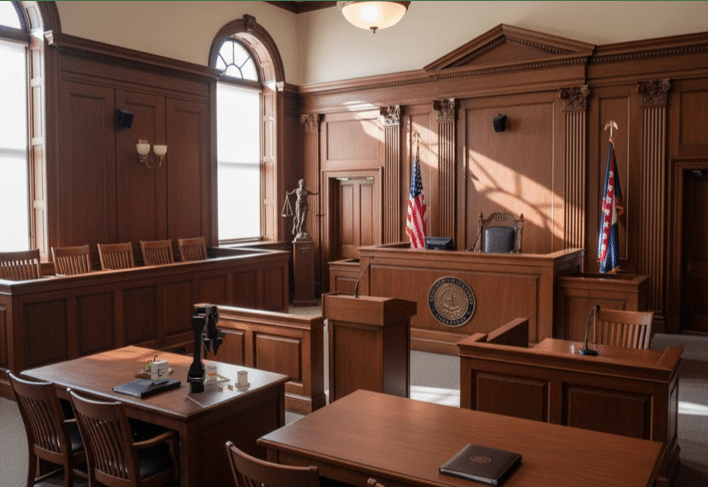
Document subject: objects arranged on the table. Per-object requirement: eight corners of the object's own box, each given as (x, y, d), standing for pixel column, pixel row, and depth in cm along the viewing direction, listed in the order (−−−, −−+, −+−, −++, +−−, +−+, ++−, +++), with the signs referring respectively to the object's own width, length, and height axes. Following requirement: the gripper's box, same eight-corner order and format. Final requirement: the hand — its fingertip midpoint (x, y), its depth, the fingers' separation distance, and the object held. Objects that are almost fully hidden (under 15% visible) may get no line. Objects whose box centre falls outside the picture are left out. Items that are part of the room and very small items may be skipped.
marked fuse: (210, 382, 365) (209, 367, 365) (206, 380, 369) (206, 366, 368) (217, 380, 368) (216, 366, 367) (213, 379, 371) (213, 365, 371)
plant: (179, 371, 392) (179, 353, 391) (160, 380, 373) (160, 360, 373) (150, 369, 398) (149, 350, 397) (130, 377, 379) (129, 357, 379)
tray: (204, 386, 358) (204, 383, 358) (193, 380, 370) (193, 377, 370) (230, 382, 367) (230, 378, 366) (218, 376, 379) (218, 373, 379)
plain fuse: (240, 387, 352) (240, 373, 352) (237, 386, 355) (237, 371, 355) (247, 386, 355) (247, 371, 354) (244, 384, 358) (244, 370, 357)
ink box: (163, 380, 371) (163, 359, 371) (169, 381, 368) (169, 360, 368) (150, 383, 364) (150, 362, 364) (156, 385, 361) (156, 363, 361)
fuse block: (221, 394, 343) (221, 388, 343) (214, 390, 351) (214, 385, 350) (253, 388, 354) (253, 383, 354) (245, 385, 361) (245, 379, 361)
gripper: (231, 327, 373) (231, 355, 374) (217, 322, 388) (218, 348, 389) (212, 330, 366) (213, 358, 367) (199, 324, 381) (200, 351, 382)
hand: (211, 353), depth 377 cm, fingers open, 9 cm apart
